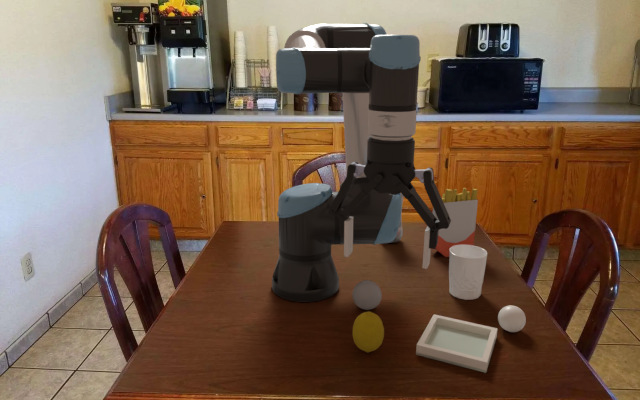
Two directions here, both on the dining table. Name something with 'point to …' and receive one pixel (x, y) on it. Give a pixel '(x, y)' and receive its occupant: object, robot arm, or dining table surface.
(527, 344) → the dining table surface
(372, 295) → the grey rubber ball
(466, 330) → the square dish
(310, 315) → the dining table surface
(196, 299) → the dining table surface
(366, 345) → the lemon
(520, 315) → the white plastic ball
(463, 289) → the white cup
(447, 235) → the french fries container
